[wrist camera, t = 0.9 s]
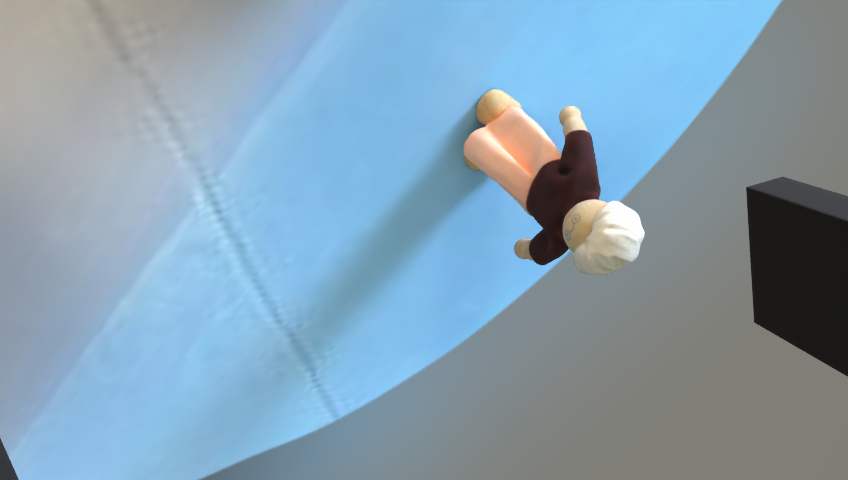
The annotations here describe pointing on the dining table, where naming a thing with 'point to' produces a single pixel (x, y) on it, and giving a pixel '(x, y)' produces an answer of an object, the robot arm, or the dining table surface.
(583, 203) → the grandmother figurine
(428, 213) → the dining table surface
